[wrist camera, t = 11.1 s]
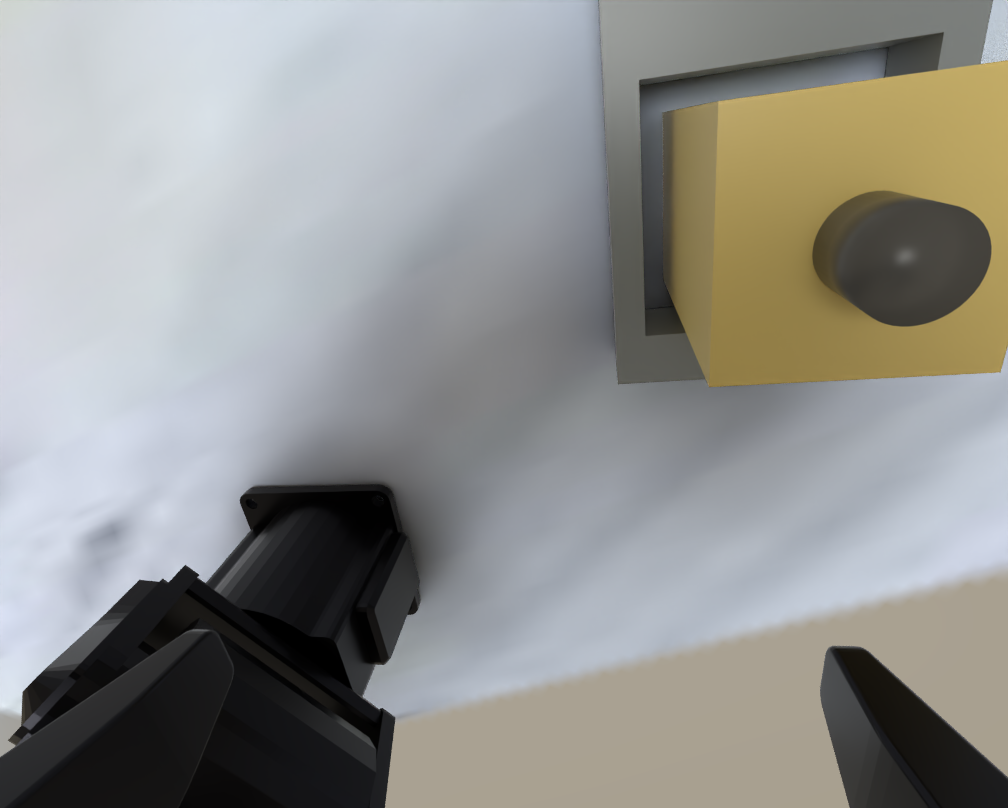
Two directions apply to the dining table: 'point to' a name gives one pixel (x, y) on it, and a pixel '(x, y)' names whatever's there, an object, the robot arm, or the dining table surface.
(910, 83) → the plug
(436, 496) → the dining table surface
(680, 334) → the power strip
